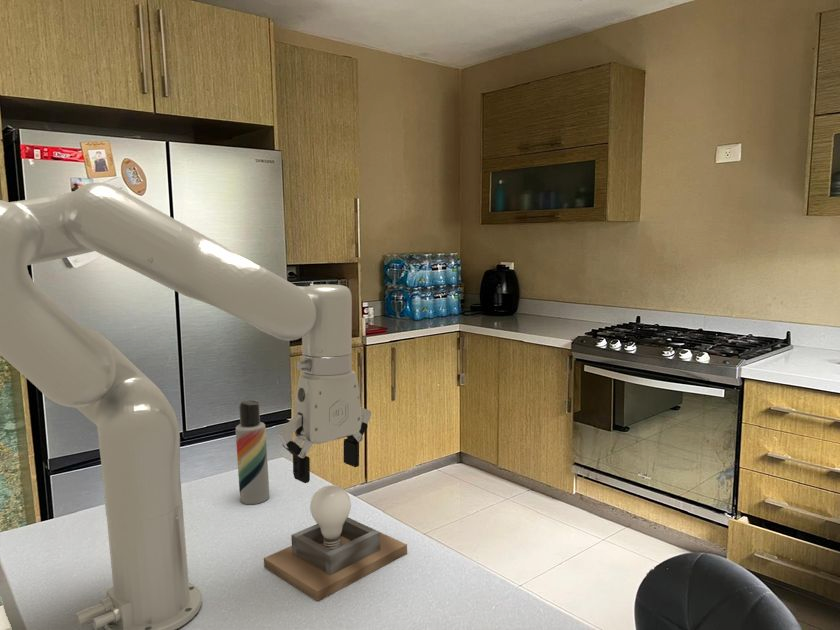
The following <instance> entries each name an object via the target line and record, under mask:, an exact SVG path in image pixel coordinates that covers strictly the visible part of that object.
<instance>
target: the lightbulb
mask: <svg viewBox="0 0 840 630" xmlns="http://www.w3.org/2000/svg"><path fill="white" fill-rule="evenodd" d="M350 498H351V497H350V496H349V494H348V492H346V490H345V489H344V488H342V487H340V486H338V485H334V484H332V485H331V484H330V485H325V486H322V487H321V488H319V489H318V490H317V491H316V492H314V494H313V496H312V498H311V501H310V507H309V509H310V513H311V517H312V518H313V520H314V521H315V523H316V524H318V525H319V527H320V529H321V533H322V535H323V539H324V547H326V548H328V549H330V550H334V549H336V548H338V547H340V546H341V545H340V544H341V542H340V541H341V540H340V535H341V532H342V528H343V524H344V522H345V521H346V519H347V518H349V516H350V513H351V511H352V510H351V508H352V502H351V499H350Z"/></svg>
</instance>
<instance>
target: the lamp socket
mask: <svg viewBox="0 0 840 630" xmlns="http://www.w3.org/2000/svg"><path fill="white" fill-rule="evenodd" d="M290 537H291V545H290V546H287V547H286V548H284V549H280V550H278V551H277V552H274V553H273V554H269V555H268V556H265V557H263V567H264V568H265V569H266V570H268V571H270V572H271V573H273V575H276V576H277V577H279V578H280V579H282V580H284V581H286V582H287V583H289V584H291V585H292V586H293V587H294V588H296V589H298V590H299V591H300V592H302V593H303V594H306V595H307V596H309V597H310V598H312V599H313V600H315V601H316V602H320V601H321V600H323V599H325V598H327V597H329V596H331V595H333V594H334V593H336V592H339V591H340V590H342V589H344V588H346V587H347V586H349V585H351V584H353V583H355V582H357V581H359V580H360V579H362V578H364V577H366V576H368V575H369V574H371V573H373V572H375V571H378V570H380V569H381V568H382V567H385V566H386V565H388V564H390V563H391V562H394V561H396V560H397V559H399V558H401V557H403V556H405V555H406V554H408V544H407V543H405V542H402V541H401V540H398V539H396V538H394V537H392V536H389V535H387V534H386V533H383V532H380V531H378V530H376V529H374V528H373V527H370V526H367V525H365V524H363V523H361V522H360V521H357V520H354V519H352V518H351V517H348V518H347V519H346V521H345V522H344V524H343V528H342V532H341V535H340V540H341V541H340V542H341V544H340V545H341V546H340V547H338V548H336V549H334V550H330V549H328V548H326V547H324V539H323V535H322V533H321V529H320V527H319V525H318V524H317V523H316V524H314V525H311V526H309V527H306V528H304V529H302V530H300V531H297V532H295V533H292V534H291V536H290Z"/></svg>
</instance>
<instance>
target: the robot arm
mask: <svg viewBox="0 0 840 630" xmlns="http://www.w3.org/2000/svg"><path fill="white" fill-rule="evenodd" d="M92 252H96V253H98V254H100V255H102V256H104V257H106V258H108V259H111V260H112V261H114V262H116V263H118V264H120V265H122V266H124V267H127V268H129V269H130V270H133V271H135V272H136V273H139V274H141V275H142V276H145V277H146V278H148V279H150V280H151V281H152V280H153V281H154V282H156V283H158V284H160V285H162V286H164V287H167V288H168V289H170V290H172V291H174V292H177V293H178V294H181V295H183V296H185V297H188V298H190V299H193V300H196V301H200V302H202V303H204V304H208V305H210V306H212V307H214V308H217V309H219V310H221V311H222V312H225V313H227V314H229V315H232V316H233V317H236V318H238V319H239V320H241V321H243V322H245V323H247V324H249V325H252V326H253V327H254V328H256V329H257V330H259V331H260V332H262V333H265V334H268V335H271V336H272V337H274V338H275V339H278V340H282V341H296V340H299V339H301V345H302V346H301V347H302V351H301V352H302V353H301V354H302V355H301V361H297V363H296V369H297V370H298V371H299V372H300V371H301V373H302V374H300V375H299V377H298V381H297V384H296V385H297V387H296V392H295V393H296V394H295V400H294V402H295V403H294V417H293V418H292V419H291V420H289V421H288V422H286V424H284V426H282V427H281V428H280V429H278V430H277V436H278V438H279V440H280V441H281V443H282V447H283V448H284V449H285V450H287V452H288V453H289V454H290V455H292V474H293V478H294V479H295V480H297V481H299V482H301V483H304V484H308V483H309V482H310V481H311V473H310V472H311V467H310V463H311V462H310V461H311V459H310V457H309V456H307V454H308V453H309V451H310V449H311V448H312V446H313V444H314V445H320V444H325V443H328V442H332V441H336V440H340V439H343V438H344V439H343V463H344V464H346V465H348V466H351V467H354V468H358V467H360V443H361V442H362V441H363V439H364V437H363V435H364V433H366V431H367V429H368V427H369V426H368V424H369V422H370V420H371V417H372V411H371V410H369V409H366V408H364V407H362V406H361V405H362V403H361V394H360V393H361V392H360V386H359V381H358V380H359V379H358V377H357V373H356V371H354V370H352V367H353V365H352V360H353V359H352V355H353V354H352V352H353V351H352V350H353V349H352V344H353V343H352V342H353V341H352V340H353V339H352V333H353V332H352V328H353V325H352V320H353V319H352V316H353V312H352V309H353V308H352V306H353V304H352V303H353V301H352V299H353V297H352V292H351V290H350V288H348V286H346V285H342V284H329V283H328V284H326V283H325V284H311V285H307V286H300V285H296V284H295V283H292V282H290V281H288V280H286V279H285V278H283V277H281V276H280V275H278V274H276V273H274V272H272V271H270V270H268V269H267V268H265V267H263V266H261V265H259V264H257V263H255V262H253V261H251V260H250V259H248V258H245V257H244V256H243V255H240V254H238V253H236V252H234V251H232V250H231V249H229V248H228V247H226V246H224V245H223V244H221V243H219V242H218V241H216V240H214V239H212V238H210V237H208V236H206V235H205V234H203V233H200V232H199V231H197V230H195V229H193V228H192V227H190V226H187V225H186V224H184V223H182V222H180V221H179V220H177V219H175V218H173V217H172V216H170V215H168V214H166V213H164V212H163V211H161V210H159V209H157V208H155V207H154V206H152V205H150V204H148V203H146V202H144V201H143V200H141V199H139V198H137V197H136V196H135V195H132V194H130V193H129V192H127V191H125V190H123V189H121V188H119V187H117V186H114V185H113V184H109V183H105V182H91V183H90V182H89V183H87V184H84V185H82V186H80V187H78V188H77V189H76V190H74V191H70V192H65V193H64V192H63V193H61V194H54V195H49V196H43V197H42V196H41V197H35V198H29V199H23V200H17V201H16V200H15V201H10V202H9V201H6V200H2V199H0V357H2V358H3V359H4V360H5V361H7V363H9V364H10V365H11V366H12V367H13V368H14V369H15V370H17V371H18V372H19V373H20V374H21V375H23V376H24V378H25V379H27V380H28V381H29V382H30V383H31V384H32V385H34V386H35V387H36V388H37V389H38V390H39V391H40V392H41V393H42V394H43V395H44V396H45V397H46V398H47V399H49V400H50V401H52V402H53V403H56V404H58V405H59V406H63V407H68V408H75V409H77V410H78V411H79V412H80V413H81V414H83V415H84V417H86V418H87V419H88V420H89V421H91V422H92V423H93V424H94V425H95V426H96V428H97V436H98V447H99V455H100V464H101V474H102V475H101V476H102V485H103V487H102V488H103V495H104V506H105V515H106V522H107V533H108V544H109V555H110V565H111V568H110V569H111V577H112V587H110V588H108V589H106V591H105V592H106V598H103V599H100V601H99V603H98V604H96V605H94V606H93V605H92V606H89V607H86V608H84V609H82V610H79V611H77V612H75V614H74V619H75V623H76V626H77V628H82V627H84V626H86V625H90V624H92V626H93V628H94V630H98V629H100V628H104V630H177V629H179V628H181V627H183V626H184V625H185V624H188V622H189V621H191V620H192V619H193V618H195V615H197V613H198V612H199V611H200V609H201V607H202V603H203V601H202V592H201V590H200V589H199V588H198V586H196V585H195V584H193V583H191V582H189V571H188V570H189V568H188V558H187V557H188V555H187V546H186V545H187V543H186V531H185V520H184V519H185V518H184V505H183V497H182V495H183V494H182V481H181V463H180V462H181V461H180V460H181V457H180V456H181V454H180V453H181V437H180V435H181V434H180V426H179V422H178V419H177V418H178V417H177V415H176V413H175V410H174V408H173V407H172V405H171V404H170V402H169V400H168V399H167V397H166V396H165V394H164V393H163V391H162V390H161V388H159V387H158V386H157V385H156V384H155V383H154V382H153V380H151V379H150V378H149V377H147V375H145V374H144V373H143V372H142V371H141V370H140V369H139V368H138V367H137V366H136V365H135V364H134V363H133V362H132V361H130V359H129V358H127V356H125V355H124V354H123V353H122V351H120V350H119V349H118V348H117V347H116V346H115V345H114V344H113V343H111V341H109V340H108V339H107V338H106V337H105V336H104V335H103V334H101V333H99V332H98V331H96V330H94V329H92V328H89V327H85V326H81V325H80V324H78V323H77V322H76V321H75V320H74V319H73V318H72V317H71V316H70V315H68V313H67V312H65V311H64V310H62V307H60V306H59V305H58V304H57V303H56V302H55V300H54V299H52V298H51V297H50V296H49V295H48V294H47V293H45V291H44V290H42V289H41V288H40V287H39V286H38V285H37V284H36V283H35V281H34V280H33V279H32V277H31V274H29V270H28V266H32V265H35V264H40V263H45V262H51V261H55V260H60V259H65V258H70V257H74V256H75V257H76V256H80V255H84V254H89V253H92ZM293 434H295V439H293V437H292V435H293Z"/></svg>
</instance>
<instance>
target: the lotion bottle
mask: <svg viewBox="0 0 840 630" xmlns="http://www.w3.org/2000/svg"><path fill="white" fill-rule="evenodd" d="M238 408H239V411H238V412H239V424H237V425H236V426H235V443H236V445H235V446H236V456H237V458H236V460H237V473H238V488H239V490H238V491H239V499H240V502H241V503H242V504H245V505H259V504H261V503H265V502H266V501H268V500H269V498H270V482H269V480H270V479H269V465H268V461H269V460H268V448H267V446H268V445H267V431H266V430H267V429H266V424H265V423H264V422H261V415H260V402H258V401H255V400H241V401H240V404H239V405H238Z"/></svg>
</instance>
